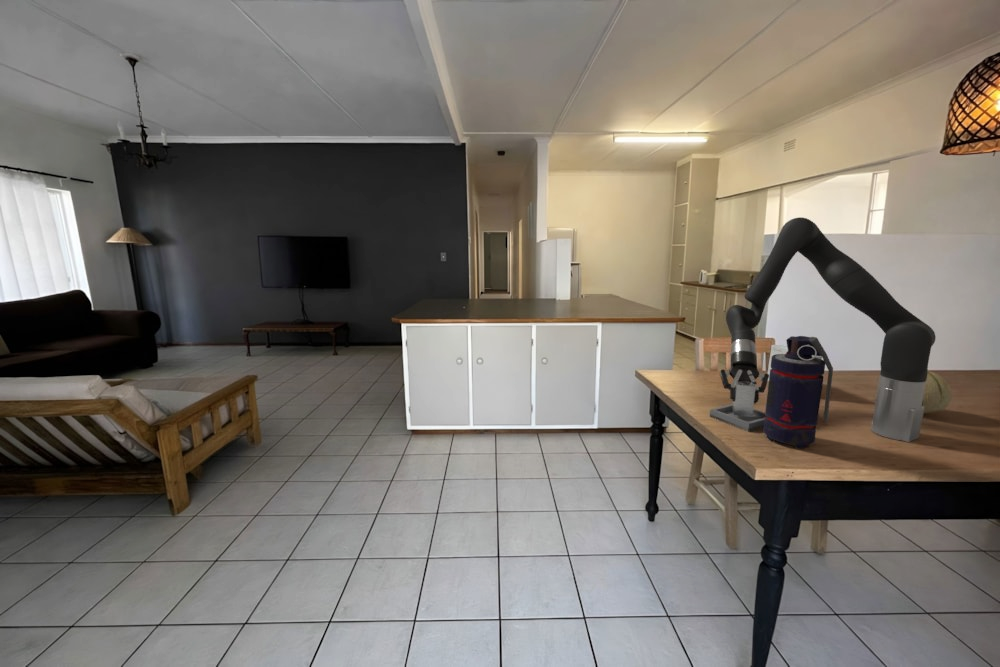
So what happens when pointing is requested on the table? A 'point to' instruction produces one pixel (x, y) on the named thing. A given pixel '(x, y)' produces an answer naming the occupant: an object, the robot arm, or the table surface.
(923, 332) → the robot arm
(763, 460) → the table surface
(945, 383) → the honeydew melon
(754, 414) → the tray
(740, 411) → the grey tall block
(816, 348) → the grenade
